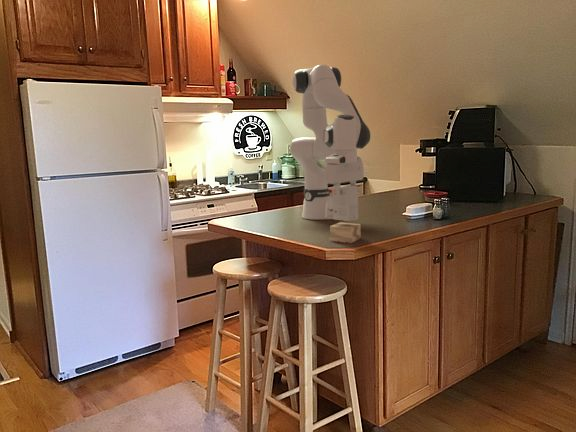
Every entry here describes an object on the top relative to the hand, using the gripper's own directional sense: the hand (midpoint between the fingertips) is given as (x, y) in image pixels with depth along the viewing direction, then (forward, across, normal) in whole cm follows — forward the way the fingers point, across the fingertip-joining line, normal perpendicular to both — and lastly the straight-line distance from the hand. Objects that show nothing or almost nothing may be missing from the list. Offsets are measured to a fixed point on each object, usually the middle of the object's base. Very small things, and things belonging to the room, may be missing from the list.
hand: (345, 193), depth 203 cm
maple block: (+18, 0, 0) cm, 19 cm away
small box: (+10, 0, 0) cm, 10 cm away
